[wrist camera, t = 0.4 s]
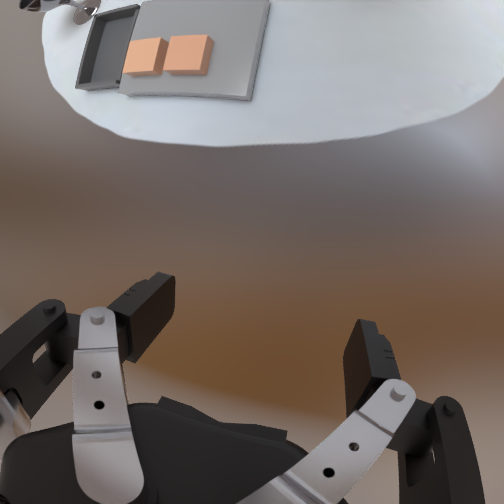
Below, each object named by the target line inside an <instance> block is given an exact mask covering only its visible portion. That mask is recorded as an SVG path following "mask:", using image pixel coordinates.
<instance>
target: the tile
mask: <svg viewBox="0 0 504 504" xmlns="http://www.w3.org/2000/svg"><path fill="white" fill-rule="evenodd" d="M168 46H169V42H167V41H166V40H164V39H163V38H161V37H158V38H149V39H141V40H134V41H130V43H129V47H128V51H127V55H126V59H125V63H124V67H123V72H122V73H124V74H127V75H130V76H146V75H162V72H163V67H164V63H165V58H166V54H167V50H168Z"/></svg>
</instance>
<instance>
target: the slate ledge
mask: <svg viewBox="0 0 504 504" xmlns="http://www.w3.org/2000/svg"><path fill="white" fill-rule="evenodd" d="M269 7H270V1H269V0H151V1H146V2H142V4H141V7H140V10H139V13H138V16H137V20H136V23H135V26H134V29H133V33H132V36H131V40H130V41H134V40H141V39H149V38H158V37H161V38H163V39H164V40H166V41H167V42H170V38H171V36H183V35H208V36H209V37H210V38H211V39H212V40H213V41H214V43H213V48H212V52H211V57H210V61H209V66H208V71H207V75H186V74H179V75H171V74H169V73H167V72H165V71H163V72H162V75H146V76H130V75H127V74H124V73H122V77H121V82H120V87H119V92H118V93H120V94H124V95H128V96H141V95H176V96H201V97H216V98H227V99H238V100H247V101H251V97H252V91H253V86H254V81H255V75H256V70H257V65H258V60H259V55H260V50H261V45H262V40H263V35H264V30H265V25H266V21H267V16H268V11H269Z"/></svg>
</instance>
